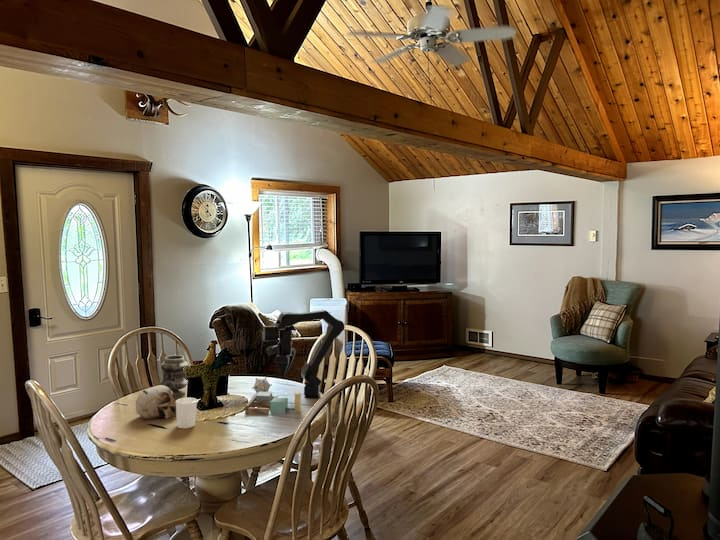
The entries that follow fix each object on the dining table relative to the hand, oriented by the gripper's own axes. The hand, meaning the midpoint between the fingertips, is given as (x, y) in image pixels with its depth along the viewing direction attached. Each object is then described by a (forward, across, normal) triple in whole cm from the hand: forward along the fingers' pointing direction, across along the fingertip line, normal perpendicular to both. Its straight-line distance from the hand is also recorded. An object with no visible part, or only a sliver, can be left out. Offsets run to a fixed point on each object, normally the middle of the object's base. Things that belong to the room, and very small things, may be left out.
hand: (284, 373), depth 236 cm
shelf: (+12, +13, -7) cm, 19 cm away
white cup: (+12, +38, -31) cm, 51 cm away
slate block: (+12, +9, -7) cm, 17 cm away
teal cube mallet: (+12, +17, +4) cm, 21 cm away
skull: (+12, +28, -46) cm, 55 cm away
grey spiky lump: (+12, -5, -12) cm, 18 cm away
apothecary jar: (+12, +1, -52) cm, 53 cm away
